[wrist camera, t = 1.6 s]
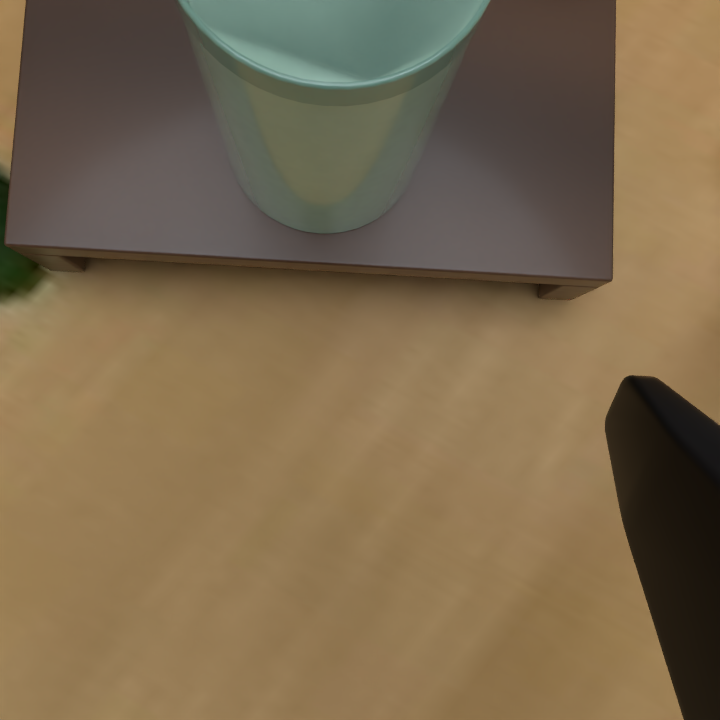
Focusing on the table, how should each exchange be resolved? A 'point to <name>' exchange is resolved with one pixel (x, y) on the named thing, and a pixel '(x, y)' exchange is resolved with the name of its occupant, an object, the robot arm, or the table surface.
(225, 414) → the table surface
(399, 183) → the green mug
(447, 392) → the table surface
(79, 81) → the shelf
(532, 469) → the table surface
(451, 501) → the table surface
